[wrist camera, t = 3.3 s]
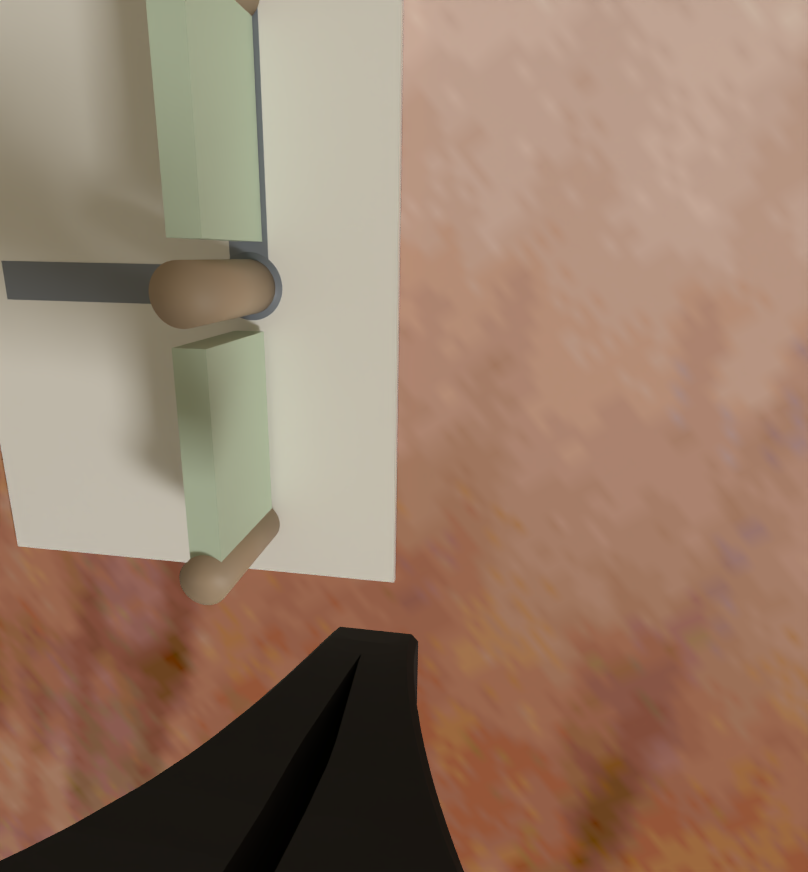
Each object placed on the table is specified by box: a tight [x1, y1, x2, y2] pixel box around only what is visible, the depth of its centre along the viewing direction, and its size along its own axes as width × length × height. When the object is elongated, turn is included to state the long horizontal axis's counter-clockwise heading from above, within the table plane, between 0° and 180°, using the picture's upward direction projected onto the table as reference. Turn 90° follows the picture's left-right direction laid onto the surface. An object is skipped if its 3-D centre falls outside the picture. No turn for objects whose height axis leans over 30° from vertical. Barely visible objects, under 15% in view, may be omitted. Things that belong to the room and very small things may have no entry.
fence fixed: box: [146, 0, 275, 329], centre depth 16 cm, size 2×9×4 cm, turn 0°
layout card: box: [0, 0, 404, 582], centre depth 19 cm, size 14×18×1 cm
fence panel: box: [172, 331, 280, 605], centre depth 18 cm, size 1×7×4 cm, turn 0°
